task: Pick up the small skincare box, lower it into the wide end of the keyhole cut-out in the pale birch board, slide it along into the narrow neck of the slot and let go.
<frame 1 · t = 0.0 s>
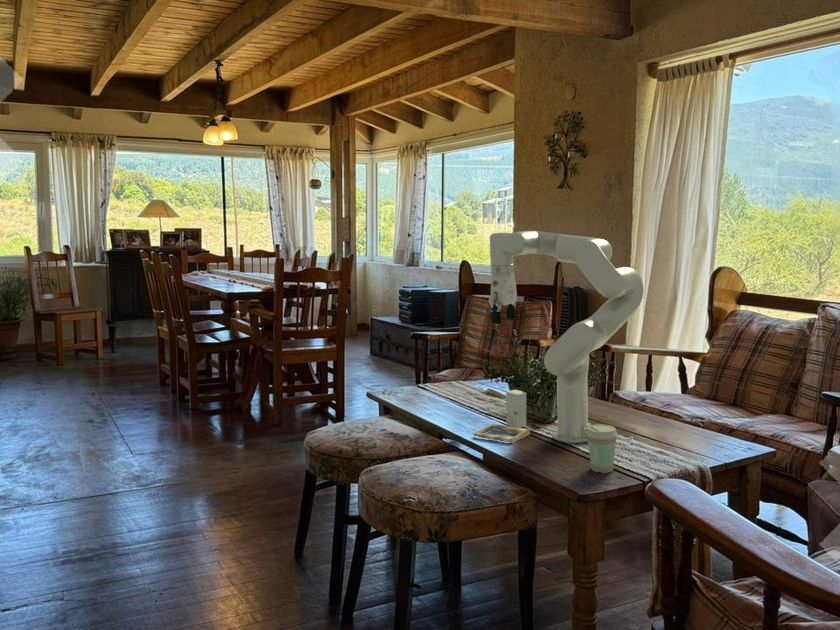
hand: (504, 321, 241), 37 cm above the table, tool pointing down, fingers open, 9 cm apart
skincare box: (516, 426, 247), on the table
keyhole board: (502, 436, 237), on the table
coffee cup: (602, 470, 203), on the table
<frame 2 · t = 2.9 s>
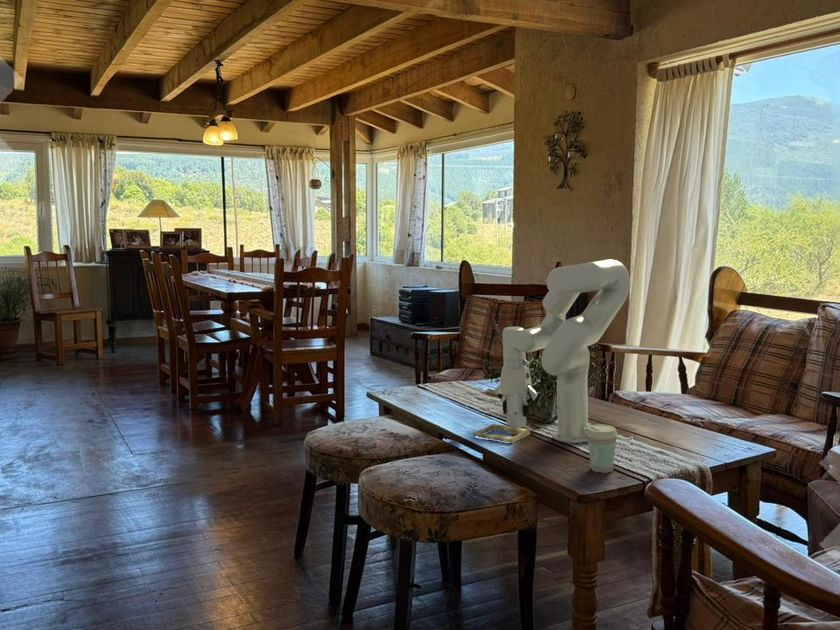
hand: (516, 413, 247), 4 cm above the table, tool pointing down, fingers closed on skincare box, 7 cm apart
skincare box: (516, 426, 247), on the table, touching gripper
everything else where it was.
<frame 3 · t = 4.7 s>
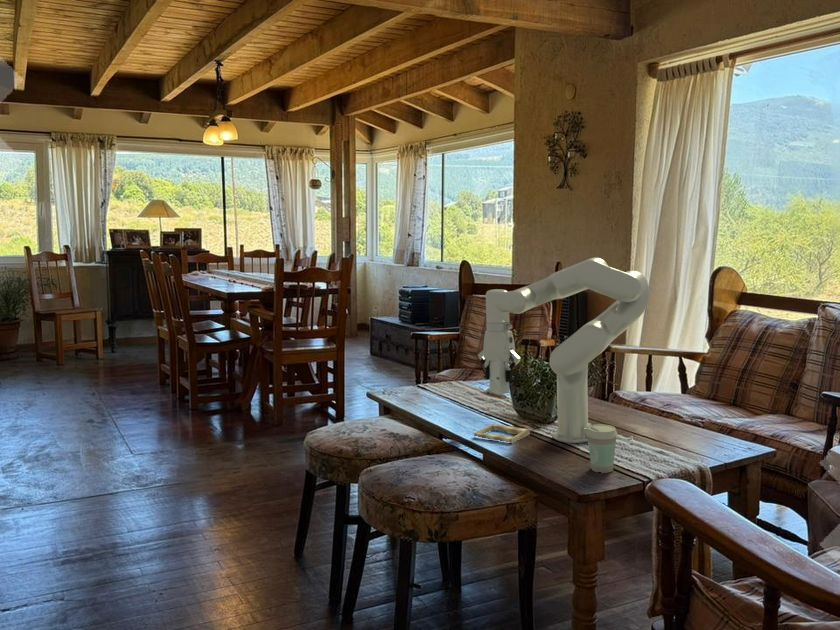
hand: (499, 379, 240), 18 cm above the table, tool pointing down, fingers closed on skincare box, 7 cm apart
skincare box: (499, 392, 240), point 13 cm above the table, touching gripper
everything else where it was.
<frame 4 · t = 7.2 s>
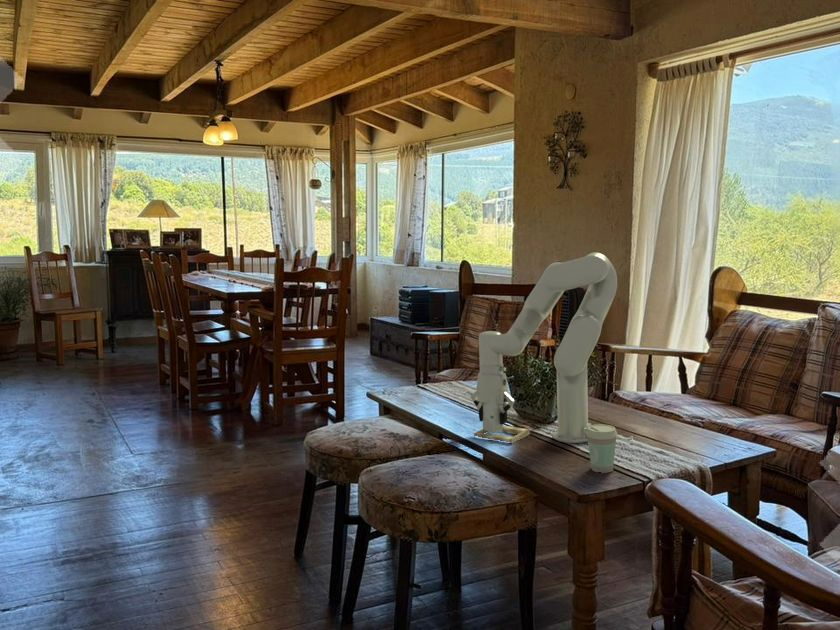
hand: (492, 421, 238), 5 cm above the table, tool pointing down, fingers closed on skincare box, 7 cm apart
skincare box: (493, 431, 239), point 1 cm above the table, touching gripper, keyhole board
everything else where it was.
when the fingers open (5 cm above the table, at t = 10.0 s): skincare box drops 1 cm, resting in keyhole board.
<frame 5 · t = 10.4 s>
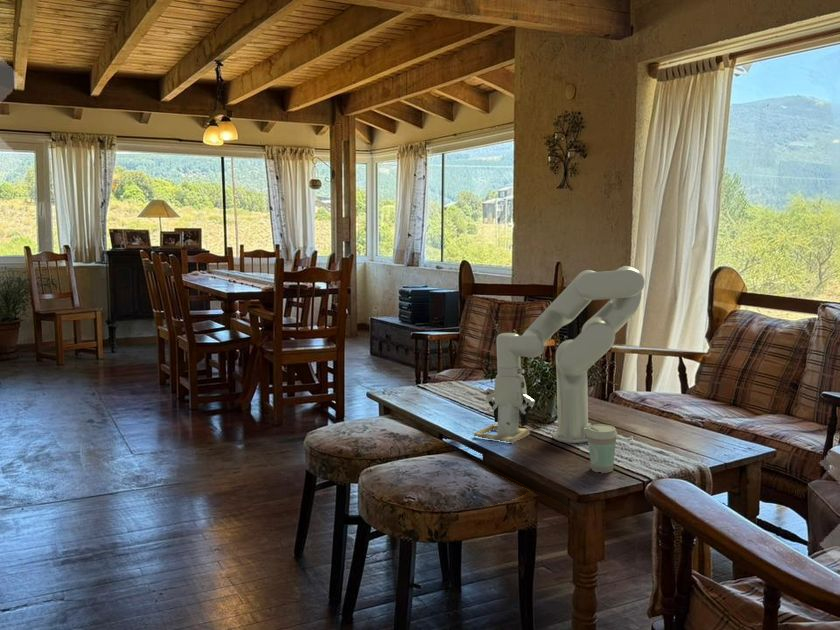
hand: (510, 423, 235), 5 cm above the table, tool pointing down, fingers open, 9 cm apart
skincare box: (508, 437, 236), resting in keyhole board, touching gripper
everything else where it was.
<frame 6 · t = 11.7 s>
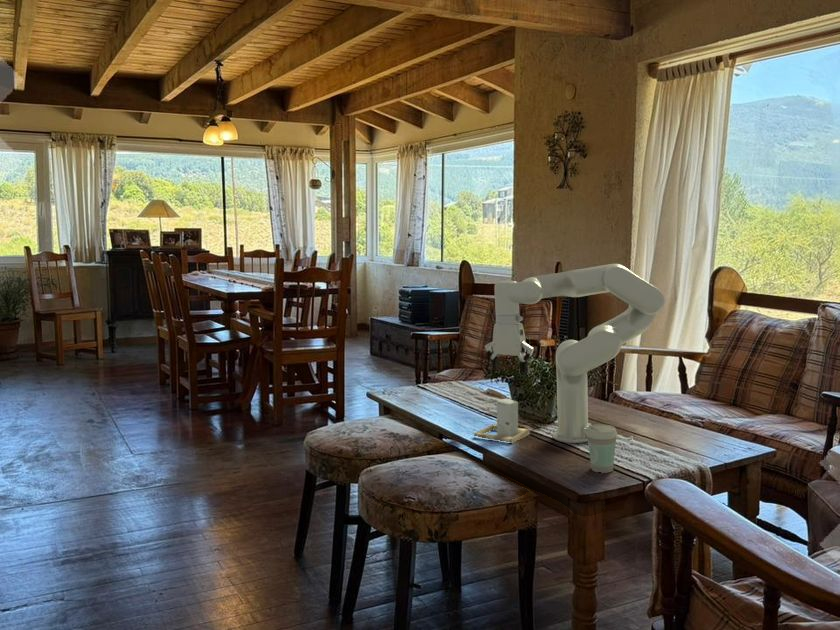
hand: (509, 372, 232), 22 cm above the table, tool pointing down, fingers open, 9 cm apart
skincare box: (508, 437, 236), resting in keyhole board
everything else where it was.
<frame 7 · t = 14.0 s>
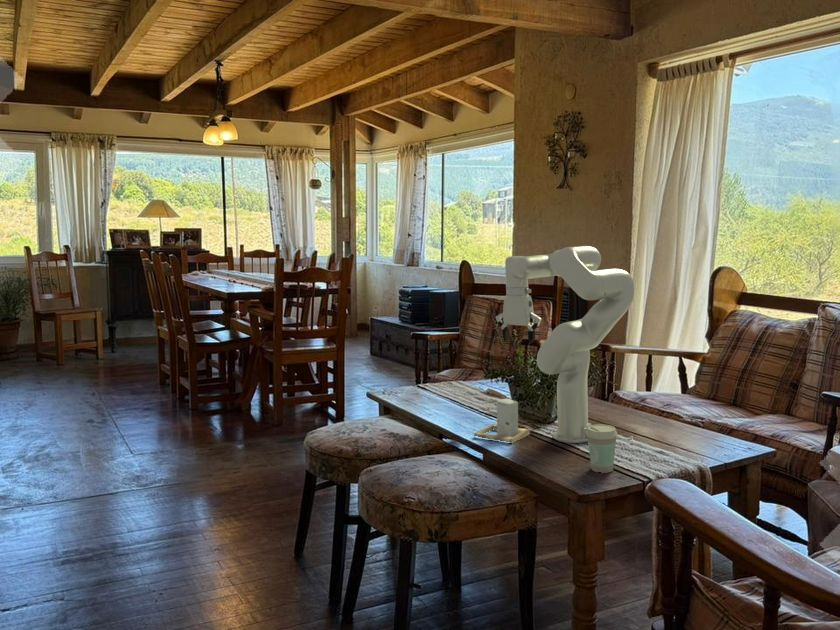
hand: (518, 341, 250), 28 cm above the table, tool pointing down, fingers open, 9 cm apart
nothing on the table moved.
at the end: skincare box 1.3 cm from the target spot on the keyhole board, point 0.0 cm above the keyhole board's base; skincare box tilted 0°; the gripper is holding nothing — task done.
